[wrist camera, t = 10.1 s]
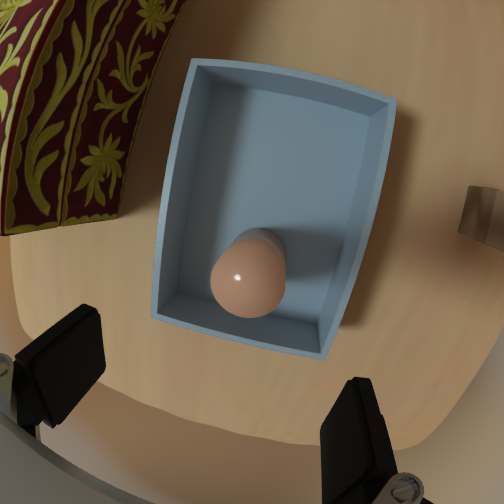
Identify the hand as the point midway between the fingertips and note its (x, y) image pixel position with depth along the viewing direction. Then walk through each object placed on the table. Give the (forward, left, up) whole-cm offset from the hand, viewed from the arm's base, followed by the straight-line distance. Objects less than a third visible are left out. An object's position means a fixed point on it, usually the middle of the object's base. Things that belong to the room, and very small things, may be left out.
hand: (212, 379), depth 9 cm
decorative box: (-14, -23, -18) cm, 33 cm away
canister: (0, 0, -17) cm, 17 cm away
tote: (-4, 0, -17) cm, 18 cm away
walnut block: (-9, +22, -17) cm, 30 cm away
